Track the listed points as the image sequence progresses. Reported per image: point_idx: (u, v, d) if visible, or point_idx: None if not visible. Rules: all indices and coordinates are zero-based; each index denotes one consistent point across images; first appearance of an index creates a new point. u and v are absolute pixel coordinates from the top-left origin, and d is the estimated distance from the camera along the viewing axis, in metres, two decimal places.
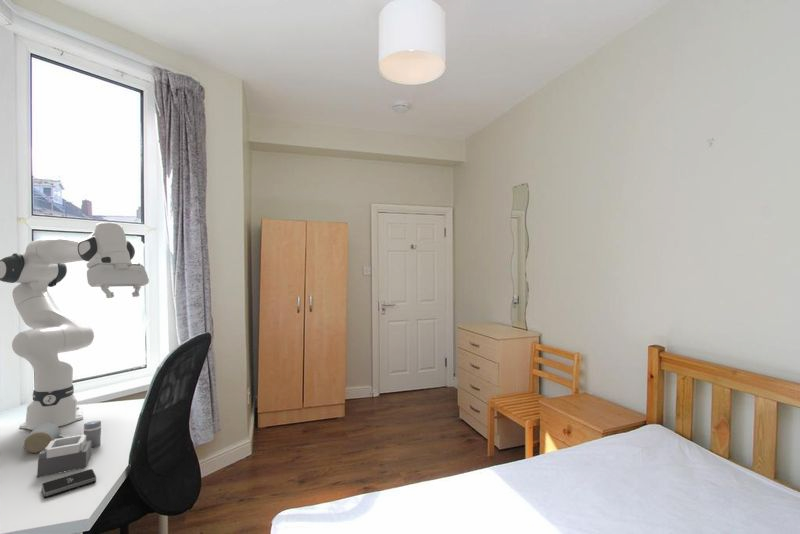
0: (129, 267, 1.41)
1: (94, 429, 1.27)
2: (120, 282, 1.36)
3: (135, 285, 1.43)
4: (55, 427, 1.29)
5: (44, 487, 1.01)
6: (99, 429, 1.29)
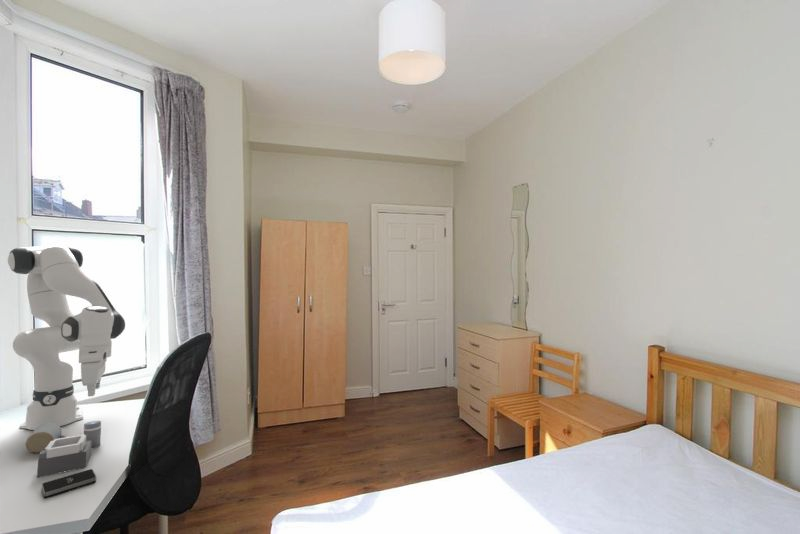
0: None
1: (94, 429, 1.27)
2: (100, 377, 1.29)
3: None
4: (57, 427, 1.29)
5: (44, 486, 1.01)
6: (99, 429, 1.29)
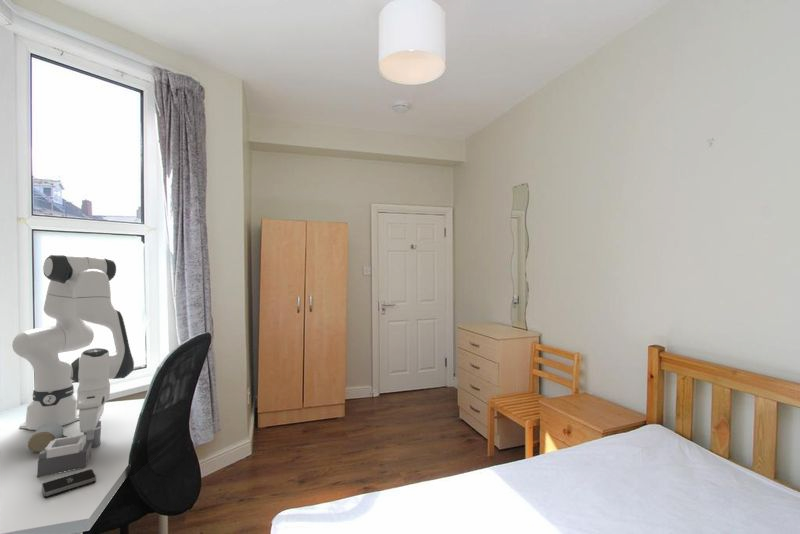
0: None
1: None
2: (98, 421, 1.28)
3: None
4: (59, 426, 1.30)
5: (44, 486, 1.01)
6: (99, 429, 1.29)
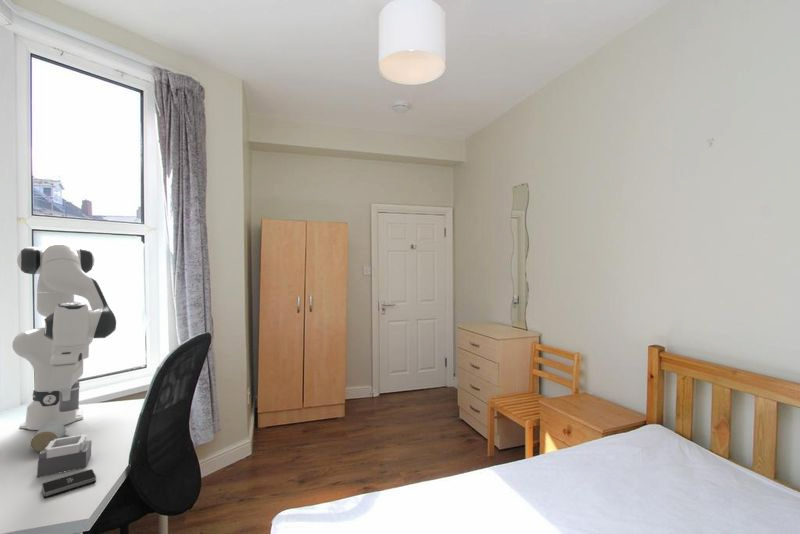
0: None
1: (71, 390, 1.14)
2: (75, 381, 1.16)
3: None
4: (61, 426, 1.30)
5: (44, 487, 1.01)
6: (77, 390, 1.16)
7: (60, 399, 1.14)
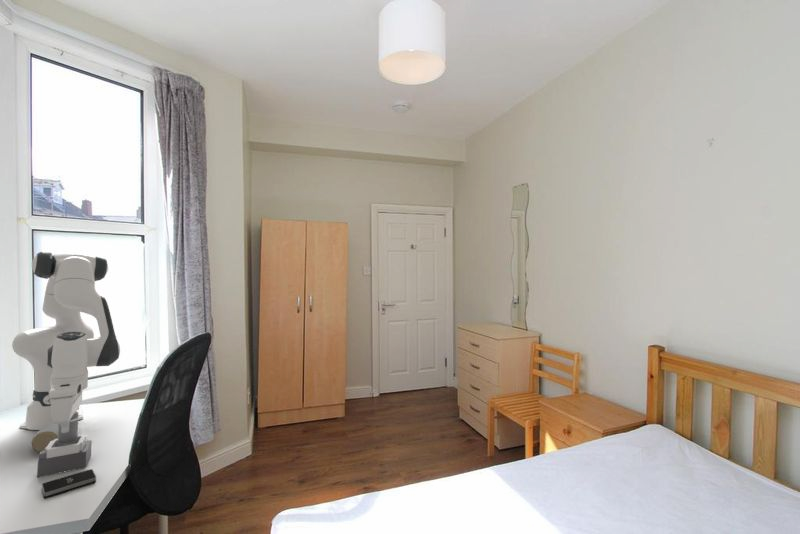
0: None
1: (70, 421, 1.14)
2: (74, 412, 1.15)
3: None
4: None
5: (44, 487, 1.01)
6: (76, 421, 1.16)
7: (59, 431, 1.13)
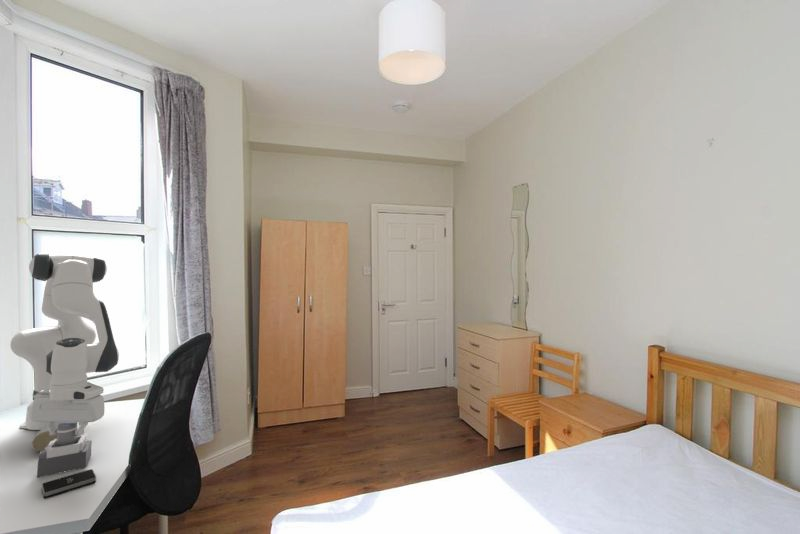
0: None
1: (76, 428, 1.16)
2: None
3: None
4: None
5: (44, 487, 1.01)
6: None
7: (66, 440, 1.14)
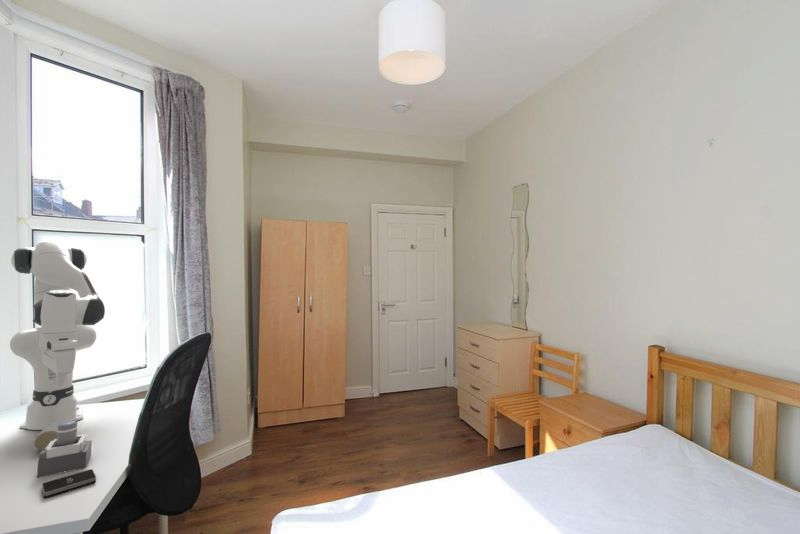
0: None
1: (76, 428, 1.16)
2: None
3: None
4: None
5: (44, 486, 1.01)
6: None
7: (66, 440, 1.14)
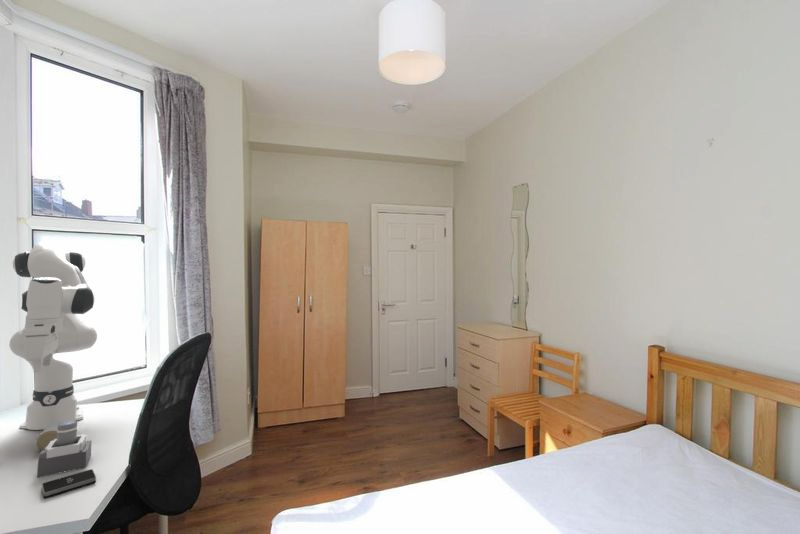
0: None
1: (76, 428, 1.16)
2: (49, 353, 1.20)
3: None
4: None
5: (44, 486, 1.01)
6: None
7: (66, 440, 1.14)
